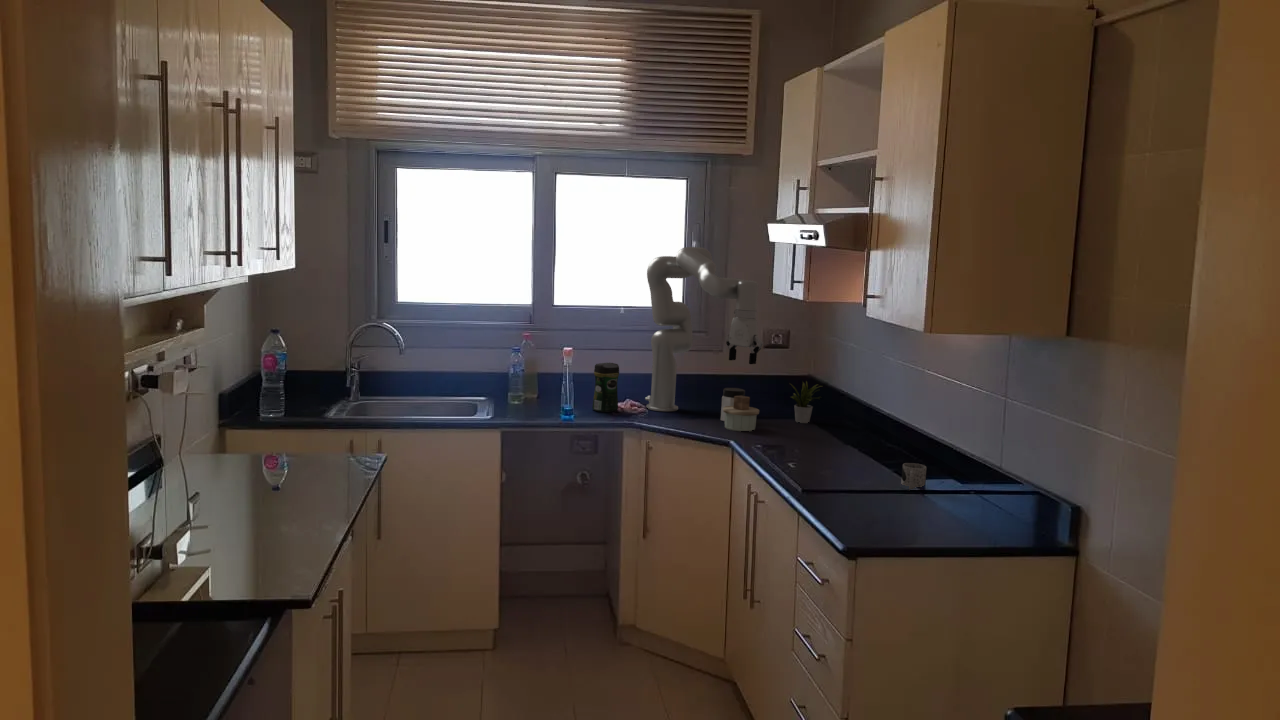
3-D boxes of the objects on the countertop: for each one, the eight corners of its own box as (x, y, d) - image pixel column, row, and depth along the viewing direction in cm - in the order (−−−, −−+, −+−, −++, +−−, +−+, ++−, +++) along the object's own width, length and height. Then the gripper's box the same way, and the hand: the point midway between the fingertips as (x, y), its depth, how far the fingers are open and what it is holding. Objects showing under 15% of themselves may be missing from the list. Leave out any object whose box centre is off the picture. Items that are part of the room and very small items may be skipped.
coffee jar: (608, 407, 385) (610, 360, 382) (621, 411, 379) (623, 363, 376) (588, 409, 379) (590, 361, 376) (601, 413, 373) (603, 364, 370)
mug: (902, 484, 289) (904, 461, 288) (925, 487, 286) (927, 465, 285) (898, 491, 279) (900, 468, 278) (922, 495, 277) (924, 472, 276)
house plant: (830, 425, 372) (834, 383, 370) (798, 426, 368) (801, 383, 365) (811, 418, 386) (814, 377, 383) (780, 419, 381) (783, 377, 379)
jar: (748, 422, 371) (750, 390, 370) (732, 423, 366) (734, 392, 364) (731, 417, 378) (733, 387, 376) (716, 419, 373) (718, 388, 371)
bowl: (718, 427, 358) (719, 410, 357) (738, 424, 366) (739, 408, 365) (741, 432, 350) (742, 416, 349) (761, 429, 358) (762, 413, 357)
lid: (715, 410, 358) (716, 395, 357) (739, 407, 366) (740, 392, 366) (742, 416, 348) (743, 401, 347) (766, 413, 357) (767, 398, 356)
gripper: (720, 312, 356) (717, 359, 359) (757, 317, 344) (753, 366, 346) (734, 312, 362) (731, 358, 364) (771, 317, 349) (767, 364, 351)
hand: (742, 362), depth 355 cm, fingers open, 9 cm apart
